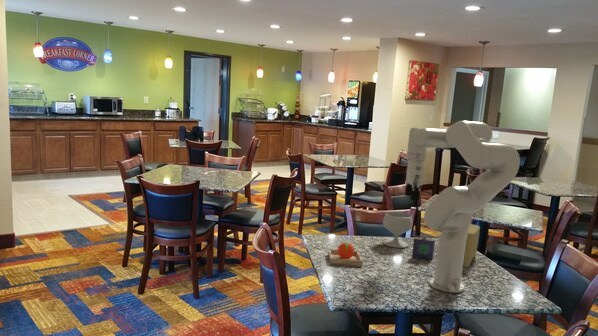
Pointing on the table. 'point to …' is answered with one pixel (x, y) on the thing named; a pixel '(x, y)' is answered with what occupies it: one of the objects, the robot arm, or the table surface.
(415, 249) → the flask
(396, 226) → the chalice
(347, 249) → the clementine
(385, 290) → the table surface
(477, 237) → the cheese
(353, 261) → the tray
